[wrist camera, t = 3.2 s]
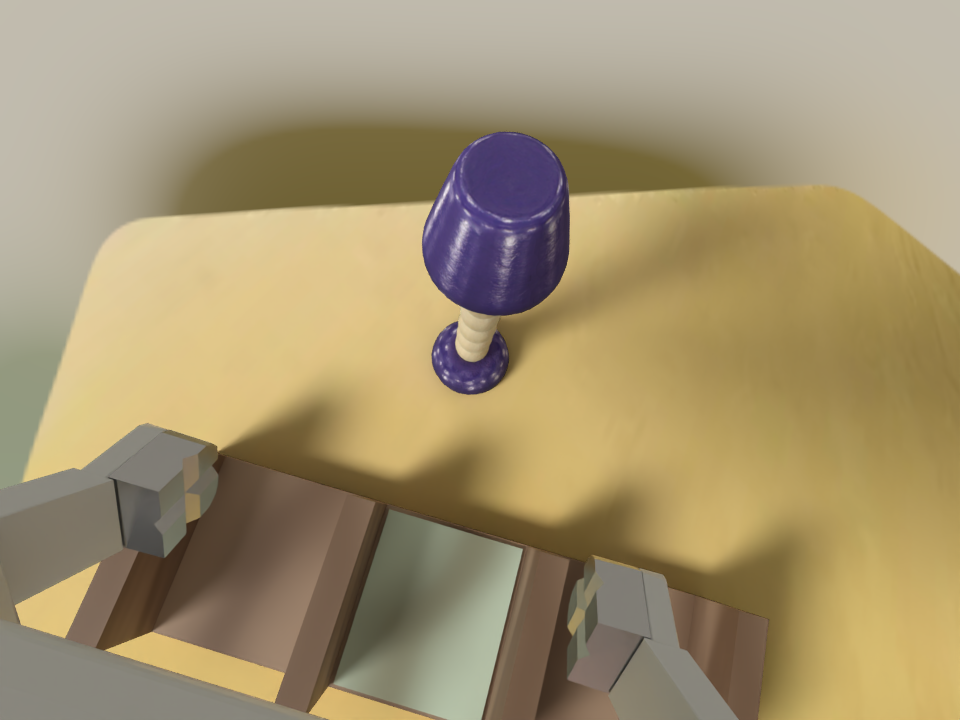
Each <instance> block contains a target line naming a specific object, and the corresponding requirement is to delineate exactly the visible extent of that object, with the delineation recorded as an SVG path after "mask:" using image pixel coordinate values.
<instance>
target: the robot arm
mask: <svg viewBox="0 0 960 720" xmlns="http://www.w3.org/2000/svg"><path fill="white" fill-rule="evenodd" d="M217 459H218V451H217V446H215V445H214V444H212V443H209V442H206V441H203V440H200V439H197V438H194V437H190V436H187V435H184V434H181V433H178V432H175V431H172V430H167V429H164V428H161V427H158V426H155V425H152V424H149V423H146V424H143V425H139V426H138V427H136V428H135V429H134V430H132V431H131V432H130V433H128V434H127V435H126V436H124V437H123V438H122V439H121V440H119V441H118V442H117V443H115V444H114V445H113V446H111V447H110V448H109V449H108V450H106V451H105V452H104V453H102V454H101V455H100V456H98V457H97V458H96V459H95V460H93V461H92V462H91V463H89V464H88V465H87V466H85V467H84V468H83V469H81V470H79V469H75V468H72V469H69V470H65V471H62V472H58V473H55V474H52V475H48V476H45V477H41V478H38V479H34V480H31V481H28V482H24V483H21V484H17V485H14V486H10V487H7V488H4V489H0V720H328V719H325V718H321V717H318V716H315V715H312V714H308V713H305V712H302V711H299V710H295V709H292V708H289V707H286V706H282V705H279V704H276V703H273V702H269V701H266V700H263V699H260V698H256V697H253V696H250V695H247V694H243V693H240V692H237V691H234V690H230V689H227V688H224V687H220V686H217V685H214V684H211V683H207V682H204V681H201V680H198V679H194V678H191V677H188V676H185V675H182V674H178V673H175V672H172V671H169V670H165V669H162V668H159V667H156V666H152V665H149V664H146V663H143V662H139V661H136V660H133V659H130V658H126V657H123V656H120V655H117V654H113V653H110V652H107V651H104V650H101V649H97V648H94V647H91V646H88V645H84V644H81V643H78V642H75V641H71V640H68V639H65V638H62V637H58V636H55V635H52V634H49V633H45V632H42V631H39V630H36V629H32V628H29V627H26V626H23V625H21V624H20V620H19V617H18V614H17V611H16V608H15V605H16V604H18V603H20V602H22V601H24V600H26V599H28V598H30V597H32V596H34V595H36V594H38V593H40V592H42V591H44V590H45V589H47V588H49V587H51V586H53V585H55V584H57V583H59V582H61V581H63V580H65V579H67V578H69V577H71V576H73V575H75V574H77V573H79V572H81V571H83V570H85V569H87V568H88V567H90V566H92V565H94V564H96V563H98V562H100V561H102V560H104V559H106V558H108V557H110V556H112V555H114V554H116V553H118V552H120V551H122V550H123V547H124V548H128V549H132V550H135V551H139V552H143V553H147V554H150V555H154V556H158V557H161V558H165V557H166V556H167V555H168V554H169V553H170V552H171V550H172V549H173V548H174V547H175V546H176V545H177V544H178V543H179V541H180V540H181V539H182V538H183V537H184V536H185V535H186V523H188V522H191V521H193V520H196V519H198V518H200V517H201V516H202V515H203V514H204V513H205V511H206V510H207V509H208V508H209V506H210V504H211V502H212V500H213V498H214V497H215V495H216V491H217V487H218V474H217V472H216V471H215V469H214V468H213V466H212V465H213V464H214V462H215V461H216V460H217ZM567 627H568V629H569V631H570V632H571V634H572V636H573V637H572V639H571V641H570V643H569V645H568V647H567V680H569V681H572V682H575V683H578V684H581V685H584V686H587V687H590V688H593V689H596V690H599V691H602V692H605V693H608V694H609V695H608V697H609V699H610V701H611V703H612V705H613V707H614V709H615V711H616V713H617V715H618V718H619V720H739V719H738V718H737V717H736V715H735V714H734V713H733V711H732V710H731V709H730V707H729V706H728V705H727V703H726V702H725V701H724V699H723V698H722V697H721V695H720V694H719V693H718V691H717V690H716V689H715V687H714V686H713V685H712V683H711V682H710V681H709V679H708V678H707V677H706V675H705V674H704V673H703V671H702V670H701V669H700V667H699V666H698V665H697V663H696V662H695V661H694V659H693V658H692V657H691V655H690V654H689V652H688V651H686V650H683V649H680V647H679V642H678V637H677V632H676V626H675V621H674V616H673V611H672V606H671V601H670V596H669V591H668V586H667V581H666V578H665V577H664V575H662V574H659V573H655V572H652V571H648V570H645V569H641V568H637V567H634V566H631V565H627V564H623V563H620V562H616V561H613V560H609V559H606V558H602V557H599V556H595V555H591V556H590V557H589V558H588V559H587V561H586V563H585V565H584V578H582V579H580V580H578V581H577V582H576V584H575V587H574V589H573V591H572V595H571V598H570V602H569V608H568V621H567Z"/></svg>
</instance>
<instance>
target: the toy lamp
mask: <svg viewBox="0 0 960 720" xmlns="http://www.w3.org/2000/svg"><path fill="white" fill-rule="evenodd" d="M569 229H570V213H569V188H568V181H567V177H566V174H565V171H564V168H563V166H562V165H561V162H560V160H559V159H558V157H557V156H556V155H555V153H554V152H553V151H552V150H551V149H550V148H549V147H548V146H546V145H545V144H543V143H542V142H540V141H539V140H537V139H535V138H533V137H531V136H528V135H525V134H521V133H516V132H497V133H493V134H489V135H486V136H483V137H481V138H479V139H478V140H476V141H474V142H473V143H471V144H470V145H469V146H468V147H467V148H465V149H464V151H463V152H462V153H461V155H460V156H459V157H458V159H457V160H456V162H455V163H454V165H453V167H452V169H451V171H450V173H449V175H448V177H447V179H446V181H445V182H444V184H443V186H442V188H441V190H440V192H439V195H438V197H437V198H436V200H435V202H434V204H433V207H432V209H431V211H430V213H429V215H428V218H427V220H426V223H425V226H424V231H423V237H422V250H423V257H424V262H425V266H426V269H427V271H428V273H429V275H430V277H431V279H432V281H433V282H434V284H435V285H436V286H437V288H438V289H439V290H440V291H441V292H442V293H443V294H444V295H445V296H446V297H447V298H448V299H450V300H451V301H453V302H454V303H455V304H458V305H459V306H460V315H459V319H458V321H457V322H454V323H452V324H450V325H449V326H447V327H446V328H445V329H444V330H443V331H442V332H441V333H440V334H439V336H438V337H437V339H436V341H435V344H434V346H433V350H432V364H433V367H434V370H435V372H436V375H437V376H438V377H439V379H440V380H441V381H442V383H443V384H444V385H446V386H447V387H449V388H450V389H451V390H453V391H456V392H458V393H462V394H468V395H470V394H479V393H483V392H486V391H488V390H490V389H492V388H493V387H495V386H496V385H497V384H498V383H499V382H500V381H501V379H502V378H503V376H504V375H505V373H506V370H507V367H508V363H509V353H508V349H507V345H506V342H505V340H504V338H503V337H502V335H501V334H500V333H499V332H498V331H497V330H496V328H497V323H498V322H499V320H500V317H501V316H505V315H512V314H518V313H522V312H524V311H527V310H529V309H531V308H533V307H534V306H536V305H538V304H539V303H541V302H542V301H543V300H544V299H545V298H547V297H548V296H549V295H550V294H551V292H552V291H553V290H554V289H555V288H556V286H557V285H558V284H559V282H560V280H561V278H562V275H563V273H564V271H565V268H566V265H567V261H568V255H569Z"/></svg>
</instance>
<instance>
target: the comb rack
mask: <svg viewBox="0 0 960 720" xmlns="http://www.w3.org/2000/svg"><path fill="white" fill-rule="evenodd" d="M212 466H213V468H214V469H215V471H216V472H217V474H218V487H217V491H216V495H215V497H214V498H213V500H212V502H211V504H210V506H209V508H208V509H207V510H206V511H205V513H204V514H203V515H202V516H201V517H200V518H198V519H196V520H193V521H191V522H188V523H186V535H185V536H184V537H183V538H182V539H181V540H180V541H179V543H178V544H177V545H176V546H175V547H174V548H173V549H172V550H171V552H170V553H169V554H168V555H167V556H166V557H165V558H161V557H158V556H154V555H150V554H147V553H143V552H139V551H135V550H132V549H128V548H124V547H123V550H122V551H120V552H118V553H116V554H114V555H112V556H110V557H108V558H106V559H104V560H102V561H101V562H100V565H99V567H98V569H97V571H96V573H95V575H94V578H93V580H92V582H91V584H90V586H89V588H88V591H87V593H86V595H85V597H84V599H83V601H82V603H81V606H80V608H79V610H78V612H77V614H76V616H75V619H74V621H73V623H72V625H71V627H70V629H69V632H68V634H67V636H66V638H65V639H68V640H71V641H75V642H78V643H81V644H84V645H88V646H91V647H94V648H97V649H101V650H106V649H109V648H111V647H114V646H116V645H119V644H121V643H124V642H126V641H129V640H132V639H134V638H137V637H139V636H142V635H144V634H147V633H150V632H155V633H158V634H161V635H164V636H168V637H171V638H174V639H177V640H181V641H184V642H187V643H190V644H193V645H197V646H200V647H203V648H206V649H210V650H213V651H216V652H219V653H222V654H226V655H229V656H232V657H235V658H239V659H242V660H245V661H248V662H251V663H255V664H258V665H261V666H264V667H268V668H271V669H274V670H277V671H280V672H284V673H285V675H284V678H283V681H282V684H281V686H280V689H279V692H278V695H277V698H276V701H275V703H276V704H279V705H282V706H286V707H289V708H292V709H295V710H299V711H302V712H305V713H309V712H310V711H311V709H312V708H313V706H314V705H315V704H316V702H317V701H318V700H319V698H320V697H321V695H322V694H323V693H324V691H325V690H326V689H327V687H328V686H329V687H332V688H335V689H338V690H342V691H345V692H348V693H351V694H355V695H358V696H361V697H364V698H368V699H371V700H374V701H377V702H380V703H384V704H387V705H390V706H393V707H397V708H400V709H403V710H406V711H409V712H413V713H416V714H419V715H422V716H426V717H429V718H432V719H435V720H619V718H618V715H617V713H616V711H615V709H614V707H613V705H612V703H611V701H610V699H609V697H608V695H609V694H608V693H605V692H602V691H599V690H596V689H593V688H590V687H587V686H584V685H581V684H578V683H575V682H572V681H569V680H567V647H568V645H569V643H570V641H571V639H572V637H573V636H572V634H571V632H570V631H569V629H568V627H567V621H568V608H569V602H570V598H571V595H572V591H573V589H574V587H575V584H576V582H577V581H578V580H580V579H582V578H584V565H585V562H582V561H579V560H575V559H572V558H569V557H565V556H562V555H559V554H555V553H552V552H548V551H545V550H542V549H538V548H535V547H532V546H528V545H525V544H522V543H518V542H515V541H511V540H508V539H505V538H501V537H498V536H495V535H491V534H488V533H485V532H481V531H478V530H474V529H471V528H468V527H464V526H461V525H458V524H454V523H451V522H448V521H444V520H441V519H437V518H434V517H431V516H427V515H424V514H421V513H417V512H414V511H411V510H407V509H404V508H401V507H397V506H394V505H390V504H387V503H384V502H380V501H377V500H374V499H370V498H367V497H364V496H360V495H357V494H353V493H350V492H347V491H343V490H340V489H337V488H333V487H330V486H327V485H323V484H320V483H316V482H313V481H310V480H306V479H303V478H300V477H296V476H293V475H290V474H286V473H283V472H279V471H276V470H273V469H269V468H266V467H263V466H259V465H256V464H253V463H249V462H246V461H242V460H239V459H236V458H232V457H229V456H226V455H222V454H219V453H218V459H217V460H216V461H215V462H214V464H213V465H212ZM668 591H669V596H670V601H671V606H672V611H673V616H674V621H675V626H676V632H677V637H678V642H679V647H680V649H683V650H686V651H688V652H689V654H690V655H691V657H692V658H693V659H694V661H695V662H696V663H697V665H698V666H699V667H700V669H701V670H702V671H703V673H704V674H705V675H706V677H707V678H708V679H709V681H710V682H711V683H712V685H713V686H714V687H715V689H716V690H717V691H718V693H719V694H720V695H721V697H722V698H723V699H724V701H725V702H726V703H727V705H728V706H729V707H730V709H731V710H732V711H733V713H734V714H735V715H736V717H737V718H738V719H739V720H758V712H759V703H760V694H761V685H762V676H763V668H764V659H765V650H766V641H767V632H768V623H769V619H766V618H763V617H760V616H757V615H754V614H751V613H748V612H745V611H742V610H739V609H736V608H733V607H730V606H727V605H724V604H721V603H718V602H715V601H712V600H709V599H706V598H703V597H700V596H696V595H693V594H690V593H686V592H683V591H680V590H676V589H673V588H669V587H668Z"/></svg>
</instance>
